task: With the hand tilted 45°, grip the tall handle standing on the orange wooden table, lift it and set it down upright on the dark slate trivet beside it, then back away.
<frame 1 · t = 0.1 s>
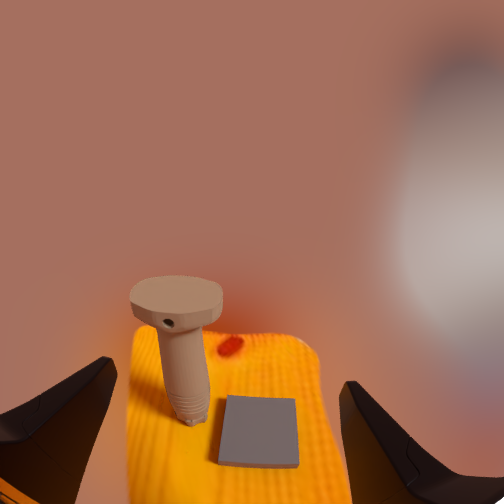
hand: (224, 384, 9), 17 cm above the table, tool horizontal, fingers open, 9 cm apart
handle: (193, 416, 23), on the table
slate trivet: (259, 434, 22), on the table
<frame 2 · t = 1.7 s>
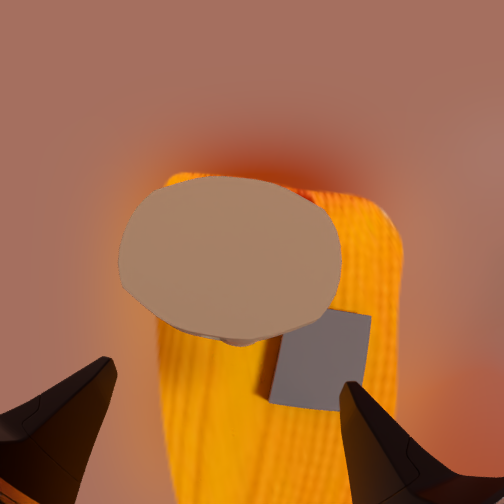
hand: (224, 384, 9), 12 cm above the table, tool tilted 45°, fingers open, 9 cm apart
handle: (241, 326, 21), on the table
slate trivet: (320, 359, 20), on the table
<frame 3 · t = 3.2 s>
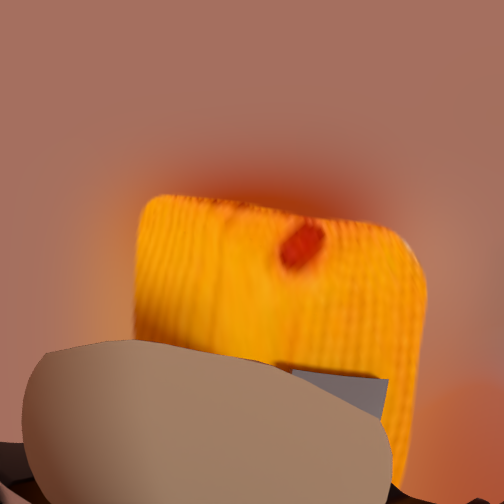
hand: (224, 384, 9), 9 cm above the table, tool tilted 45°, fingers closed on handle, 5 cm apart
handle: (234, 393, 16), on the table, touching gripper
slate trivet: (326, 428, 15), on the table
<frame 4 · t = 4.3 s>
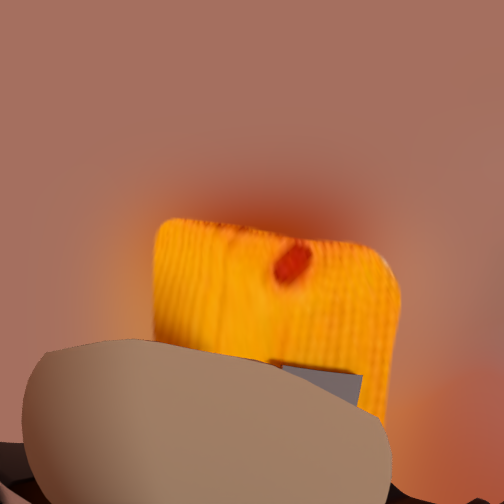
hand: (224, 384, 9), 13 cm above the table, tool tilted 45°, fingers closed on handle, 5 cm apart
handle: (234, 393, 16), point 4 cm above the table, touching gripper
slate trivet: (311, 414, 20), on the table
when the fingers open (11 cm above the table, at t = 5.8 s): handle drops 1 cm, resting on slate trivet.
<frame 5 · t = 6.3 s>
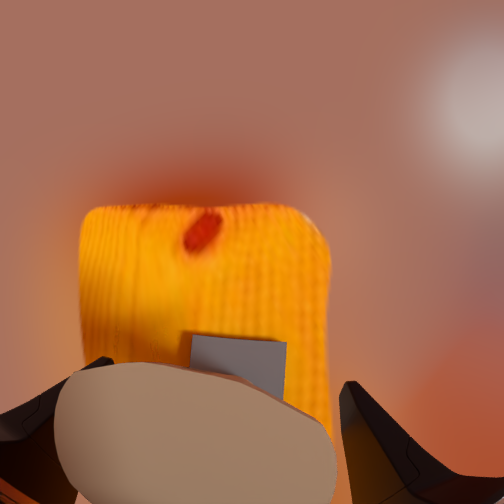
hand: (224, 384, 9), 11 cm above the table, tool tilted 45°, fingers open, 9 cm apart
handle: (235, 397, 18), point 1 cm above the table, touching slate trivet
slate trivet: (235, 390, 19), on the table
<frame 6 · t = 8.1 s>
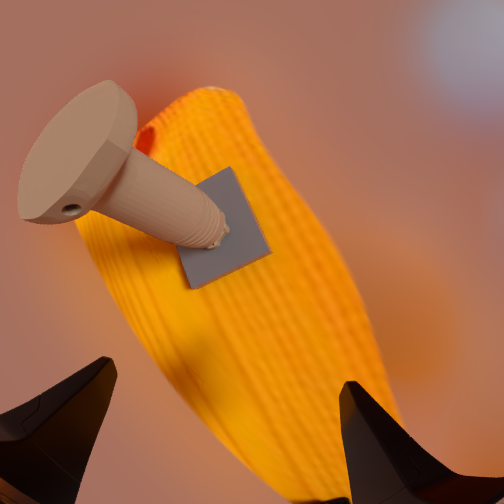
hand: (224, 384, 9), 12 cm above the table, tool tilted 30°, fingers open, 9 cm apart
handle: (213, 230, 22), point 1 cm above the table, touching slate trivet
slate trivet: (215, 228, 23), on the table
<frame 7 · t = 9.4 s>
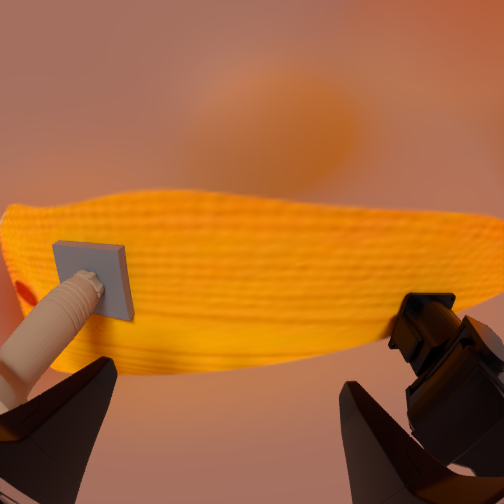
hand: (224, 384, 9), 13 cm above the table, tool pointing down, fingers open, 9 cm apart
handle: (92, 282, 22), point 1 cm above the table, touching slate trivet
slate trivet: (94, 277, 23), on the table
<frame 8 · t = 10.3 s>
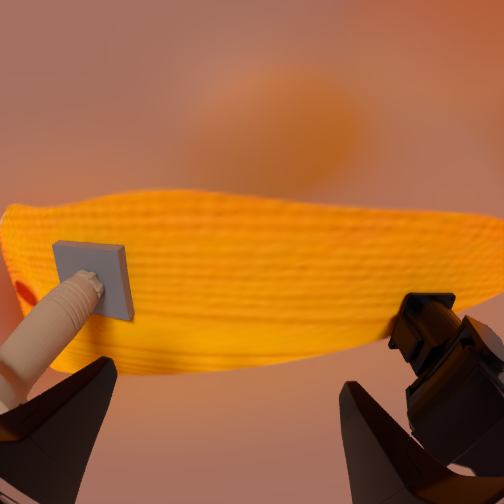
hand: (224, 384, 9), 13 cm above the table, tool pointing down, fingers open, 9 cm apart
handle: (92, 282, 22), point 1 cm above the table, touching slate trivet
slate trivet: (94, 277, 23), on the table
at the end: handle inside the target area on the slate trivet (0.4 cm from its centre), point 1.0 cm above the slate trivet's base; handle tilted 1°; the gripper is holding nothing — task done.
